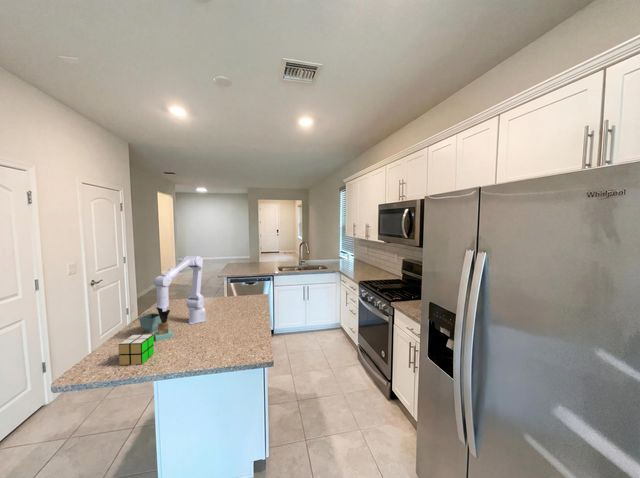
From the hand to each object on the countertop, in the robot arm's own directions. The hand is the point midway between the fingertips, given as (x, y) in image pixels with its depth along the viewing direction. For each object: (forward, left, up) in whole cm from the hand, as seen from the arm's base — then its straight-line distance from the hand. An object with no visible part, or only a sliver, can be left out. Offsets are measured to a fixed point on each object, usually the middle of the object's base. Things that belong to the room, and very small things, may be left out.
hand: (163, 320), depth 145 cm
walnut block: (0, 0, -7) cm, 7 cm away
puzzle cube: (+13, +21, -10) cm, 27 cm away
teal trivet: (0, 0, -10) cm, 10 cm away
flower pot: (+5, -15, -10) cm, 18 cm away
